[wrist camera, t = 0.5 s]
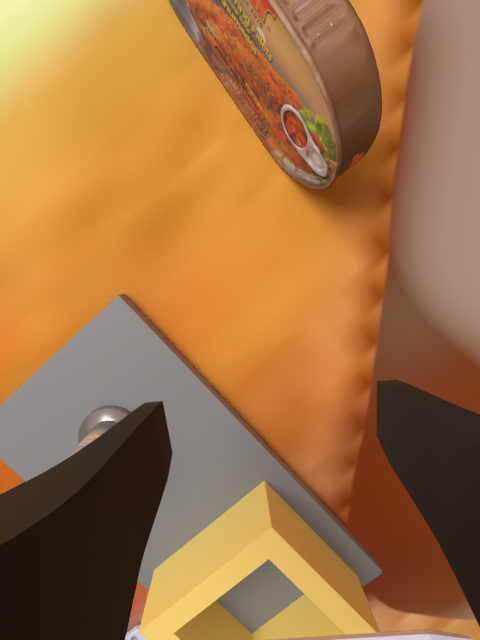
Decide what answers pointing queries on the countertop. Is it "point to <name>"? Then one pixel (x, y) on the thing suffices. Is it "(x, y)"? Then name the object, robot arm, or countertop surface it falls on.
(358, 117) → the tin
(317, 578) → the link
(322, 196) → the countertop surface
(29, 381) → the keeper board
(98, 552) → the robot arm
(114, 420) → the metal drawer knob
